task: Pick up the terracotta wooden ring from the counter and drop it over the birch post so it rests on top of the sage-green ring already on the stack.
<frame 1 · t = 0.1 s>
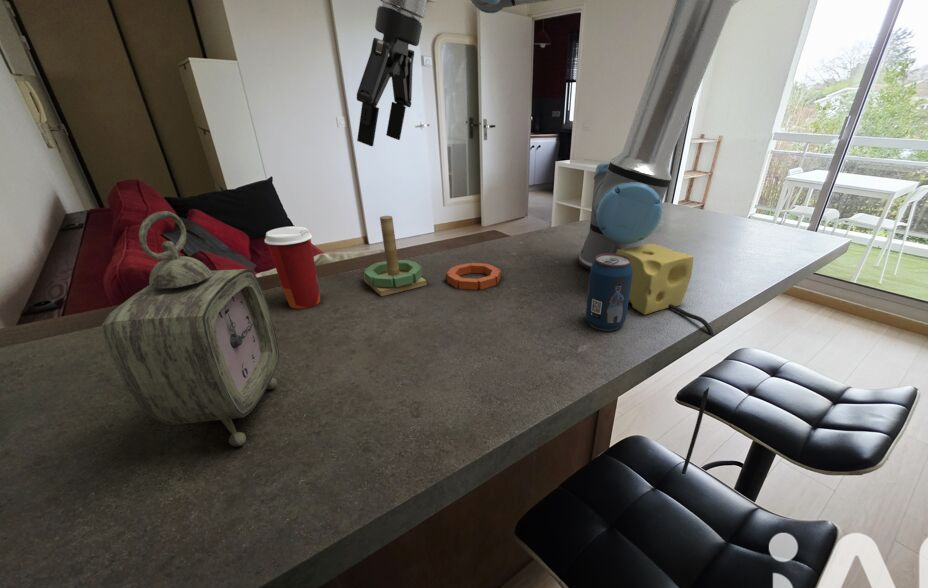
hand: (380, 140, 81), 28 cm above the breakfast bar, tool tilted 20°, fingers open, 13 cm apart
terracotta ring: (474, 279, 91), on the breakfast bar
paper cup: (304, 303, 80), on the breakfast bar
post stand: (395, 283, 89), on the breakfast bar
cheese: (645, 301, 83), on the breakfast bar
soda can: (604, 324, 74), on the breakfast bar
green ring: (393, 272, 88), point 2 cm above the breakfast bar
tabletop clock: (234, 418, 51), on the breakfast bar
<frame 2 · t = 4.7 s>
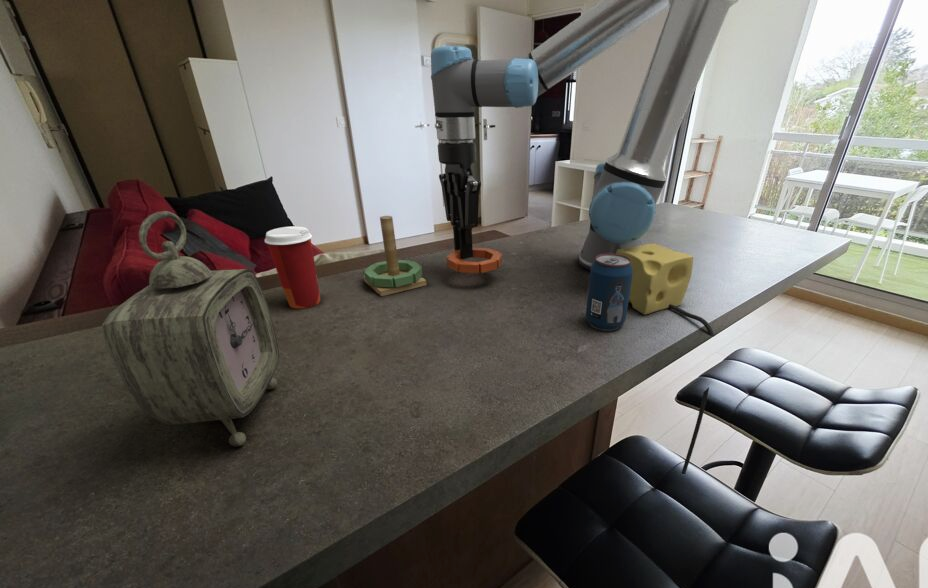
hand: (464, 255, 93), 4 cm above the breakfast bar, tool pointing down, fingers closed on terracotta ring, 2 cm apart
terracotta ring: (474, 263, 89), point 4 cm above the breakfast bar, touching gripper
everything else where it was.
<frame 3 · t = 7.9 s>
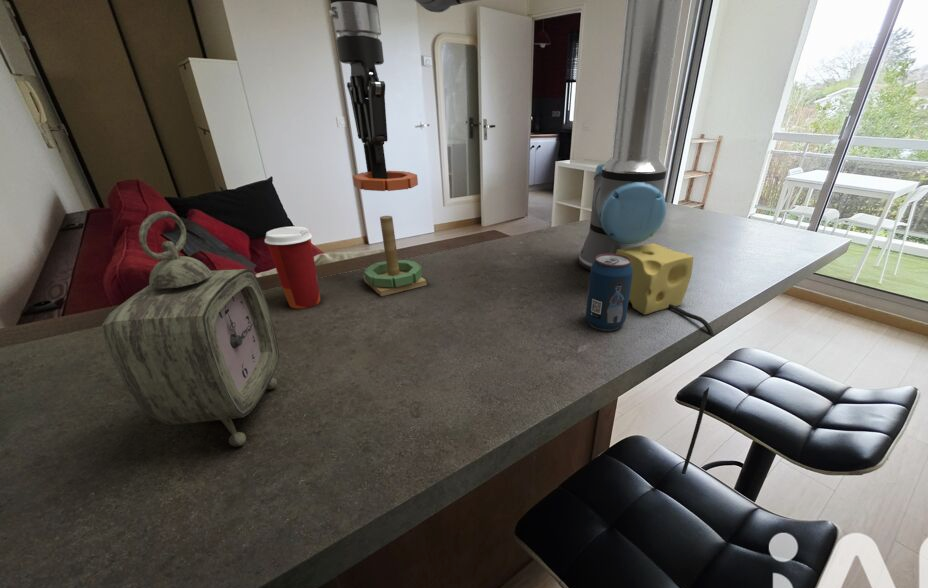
hand: (377, 179, 83), 21 cm above the breakfast bar, tool pointing down, fingers closed on terracotta ring, 2 cm apart
terracotta ring: (386, 185, 79), point 20 cm above the breakfast bar, touching gripper
everything else where it was.
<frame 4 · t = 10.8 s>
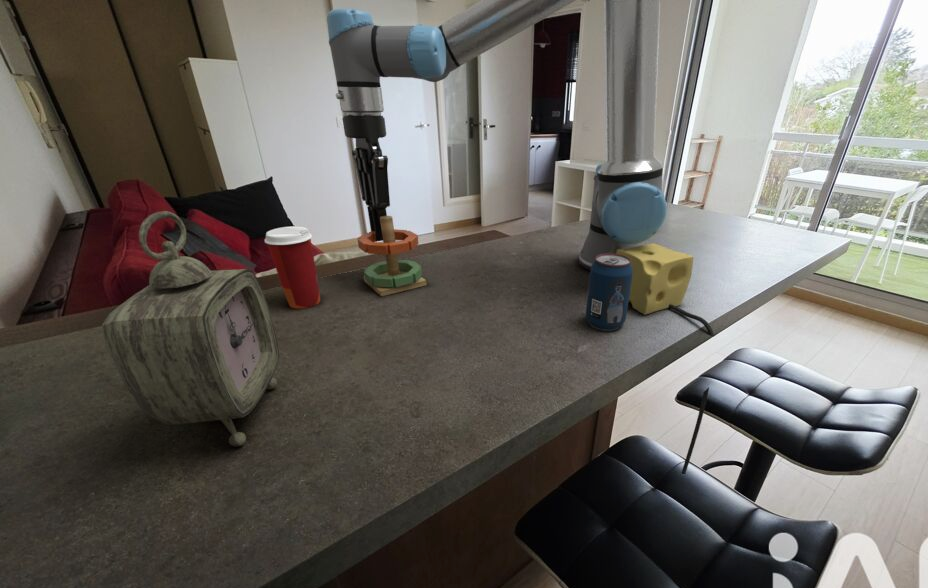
hand: (380, 237, 88), 9 cm above the breakfast bar, tool pointing down, fingers closed on terracotta ring, 2 cm apart
terracotta ring: (389, 245, 85), point 8 cm above the breakfast bar, touching gripper
everything else where it was.
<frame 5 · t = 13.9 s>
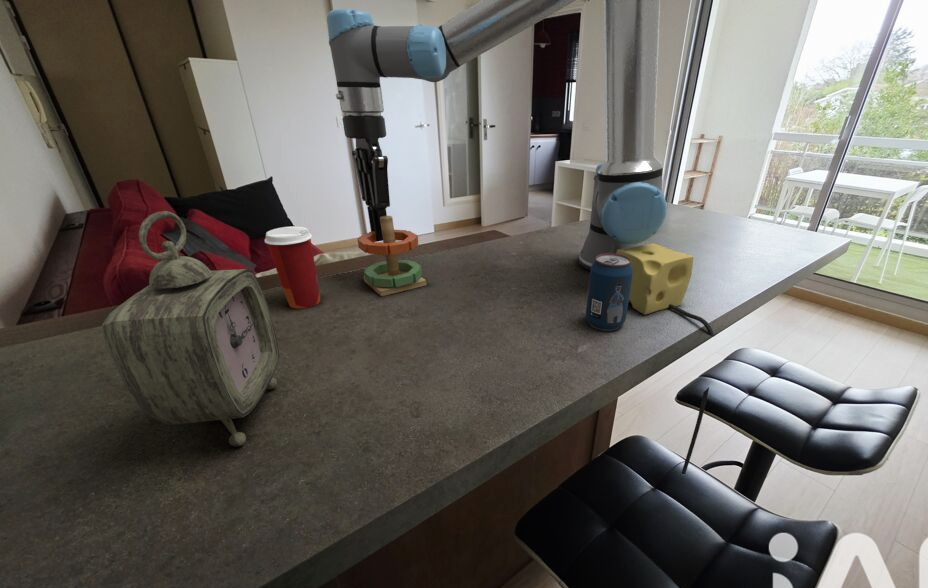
hand: (380, 238, 88), 9 cm above the breakfast bar, tool pointing down, fingers closed on terracotta ring, 2 cm apart
terracotta ring: (389, 245, 85), point 8 cm above the breakfast bar, touching gripper
everything else where it was.
when the fingers open (10 cm above the breakfast bar, at t = 16.4 s): terracotta ring drops 6 cm, resting on green ring.
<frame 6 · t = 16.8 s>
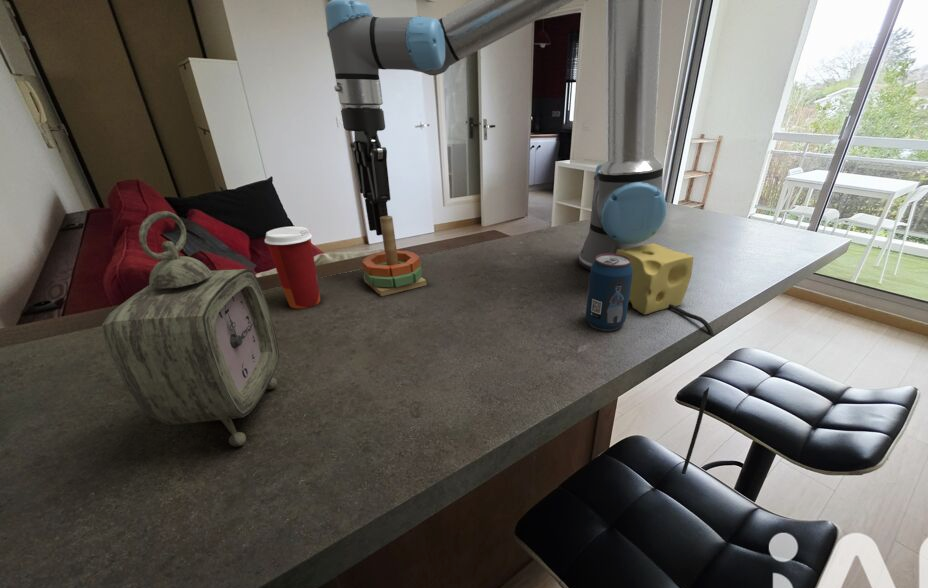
hand: (379, 231, 88), 10 cm above the breakfast bar, tool pointing down, fingers open, 3 cm apart
terracotta ring: (392, 266, 88), point 3 cm above the breakfast bar, touching green ring
everything else where it was.
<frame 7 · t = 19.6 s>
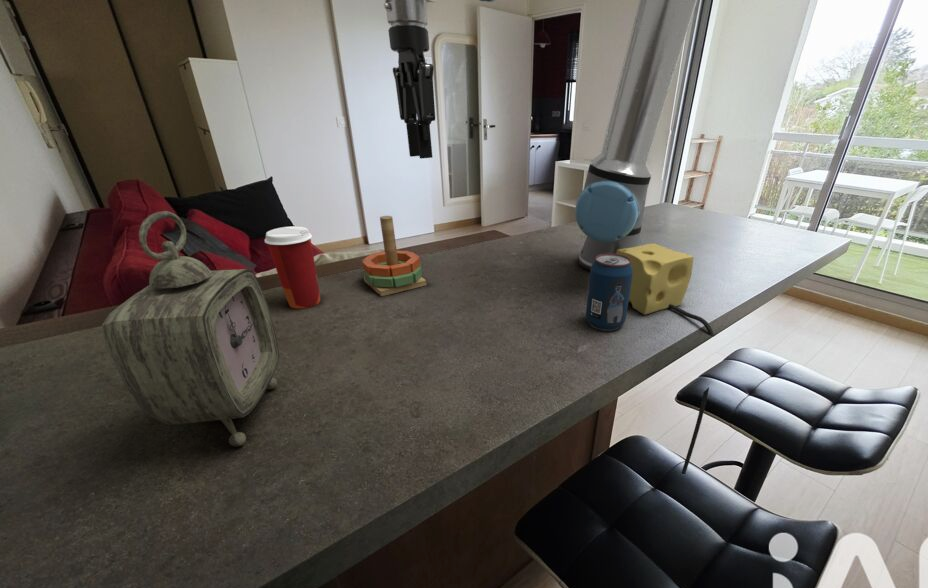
hand: (421, 156, 91), 24 cm above the breakfast bar, tool pointing down, fingers open, 4 cm apart
nothing on the breakfast bar moved.
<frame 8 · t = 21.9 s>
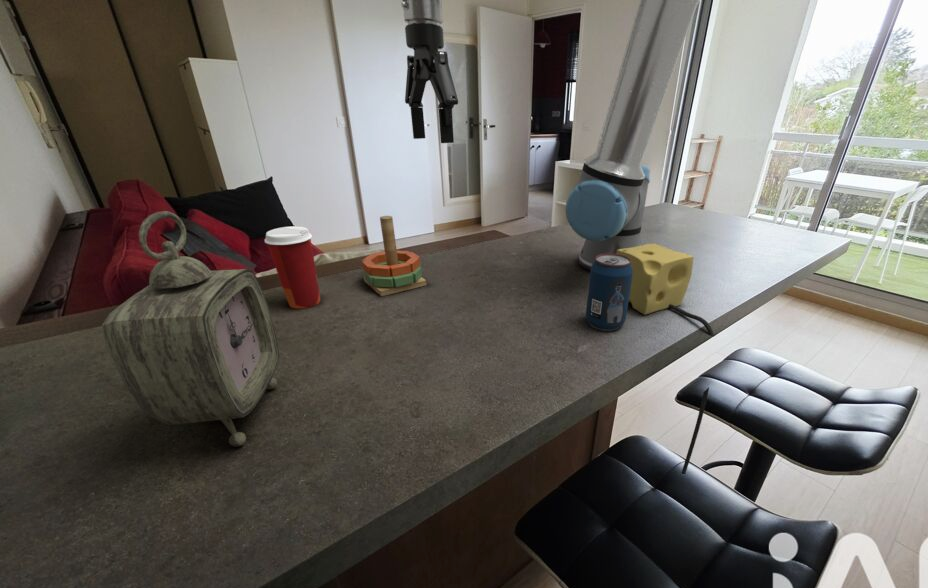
hand: (432, 140, 93), 27 cm above the breakfast bar, tool pointing down, fingers open, 13 cm apart
nothing on the breakfast bar moved.
at the end: terracotta ring 1.2 cm off-centre on the post stand, point 3.3 cm above the post stand's base; terracotta ring tilted 0°; the gripper is holding nothing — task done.
